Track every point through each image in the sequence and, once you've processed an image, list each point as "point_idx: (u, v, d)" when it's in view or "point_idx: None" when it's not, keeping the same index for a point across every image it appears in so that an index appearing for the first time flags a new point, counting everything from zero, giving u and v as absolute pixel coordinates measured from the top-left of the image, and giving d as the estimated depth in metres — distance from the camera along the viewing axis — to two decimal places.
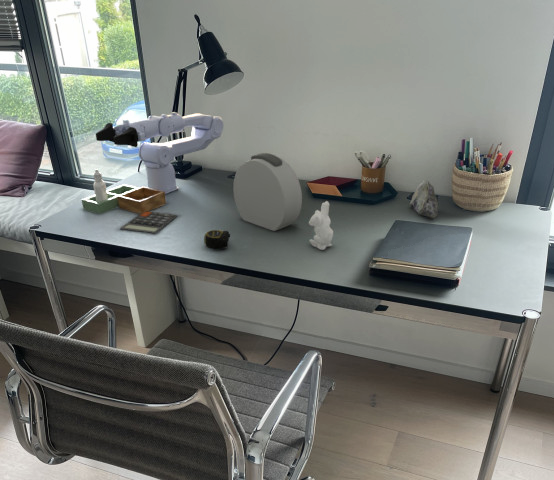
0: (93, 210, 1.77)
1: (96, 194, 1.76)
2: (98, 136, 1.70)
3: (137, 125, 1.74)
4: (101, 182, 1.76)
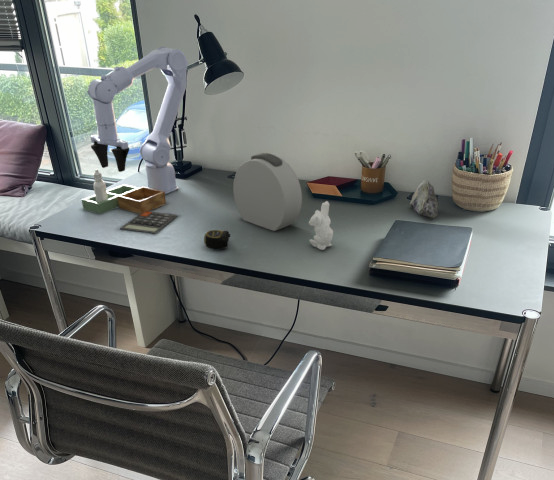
0: (93, 210, 1.77)
1: (96, 194, 1.76)
2: (105, 166, 1.81)
3: (105, 132, 1.71)
4: (101, 182, 1.76)
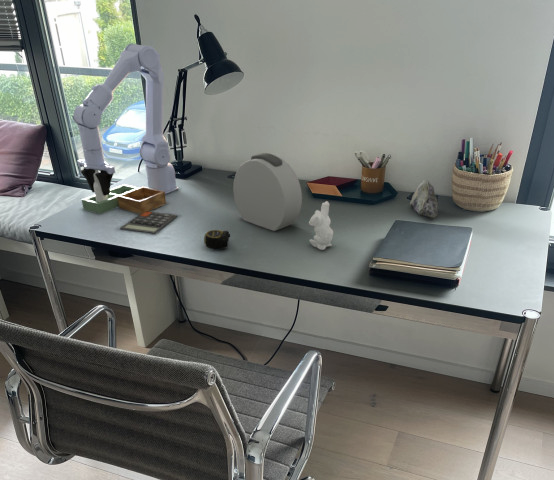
0: (93, 210, 1.77)
1: (96, 194, 1.76)
2: None
3: (92, 157, 1.69)
4: None
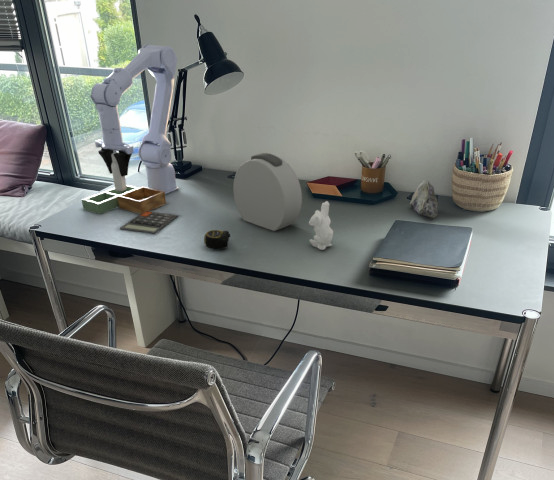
0: (93, 210, 1.77)
1: (114, 175, 1.73)
2: None
3: (110, 137, 1.67)
4: None
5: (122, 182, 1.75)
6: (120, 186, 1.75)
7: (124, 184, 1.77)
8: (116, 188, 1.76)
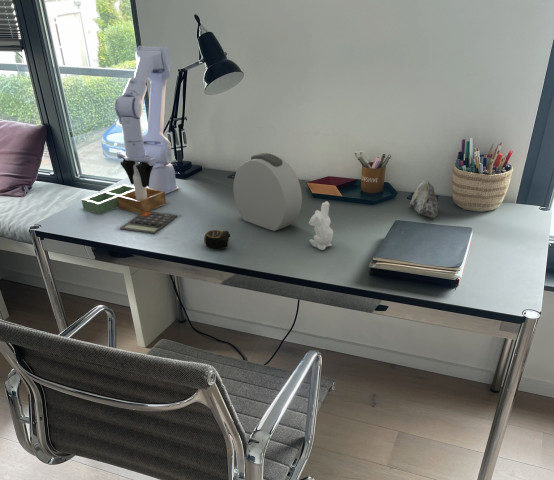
0: (93, 210, 1.77)
1: (136, 186, 1.76)
2: None
3: (133, 148, 1.69)
4: None
5: (143, 193, 1.78)
6: (141, 197, 1.78)
7: (145, 195, 1.79)
8: (137, 199, 1.78)
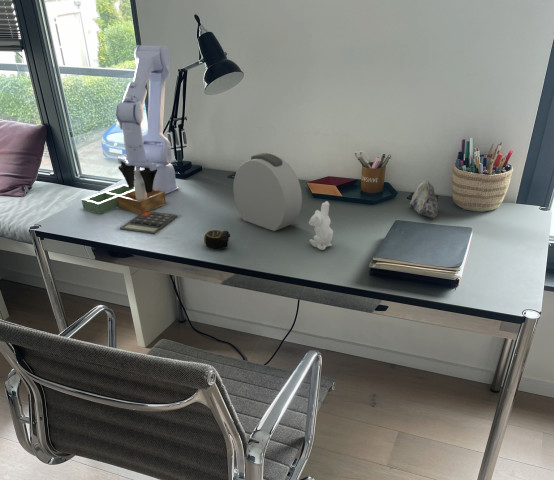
0: (93, 210, 1.77)
1: (136, 191, 1.77)
2: (132, 186, 1.80)
3: (134, 154, 1.70)
4: (141, 179, 1.76)
5: (144, 198, 1.79)
6: None
7: None
8: None
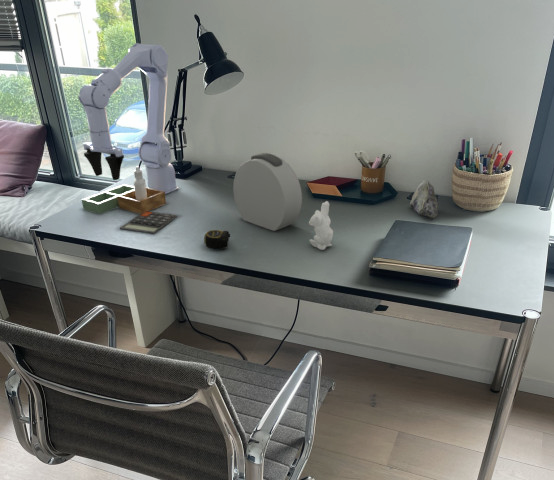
0: (93, 210, 1.77)
1: (136, 191, 1.77)
2: (99, 174, 1.74)
3: (99, 139, 1.64)
4: (141, 179, 1.76)
5: (144, 198, 1.79)
6: None
7: None
8: None
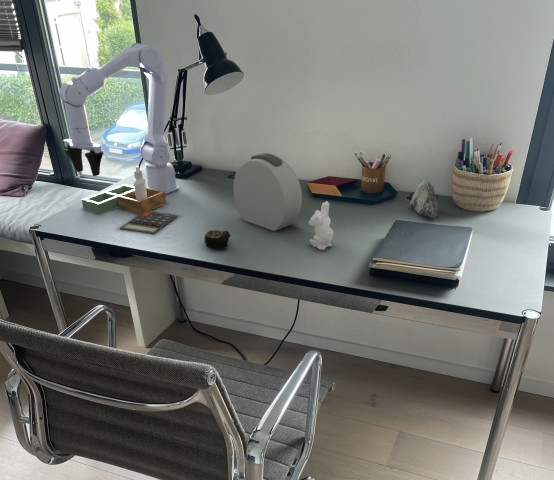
0: (93, 210, 1.77)
1: (136, 191, 1.77)
2: (79, 170, 1.78)
3: (78, 136, 1.67)
4: (141, 179, 1.76)
5: (144, 198, 1.79)
6: None
7: None
8: None
